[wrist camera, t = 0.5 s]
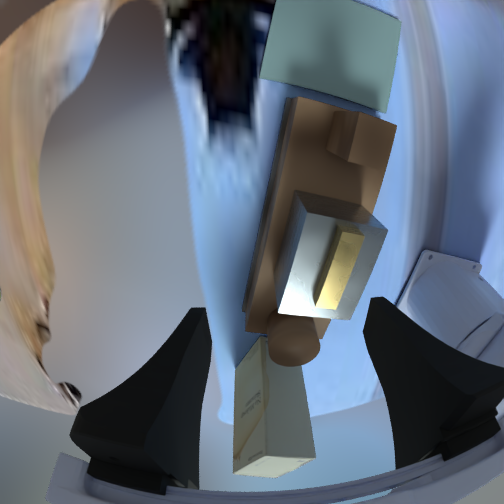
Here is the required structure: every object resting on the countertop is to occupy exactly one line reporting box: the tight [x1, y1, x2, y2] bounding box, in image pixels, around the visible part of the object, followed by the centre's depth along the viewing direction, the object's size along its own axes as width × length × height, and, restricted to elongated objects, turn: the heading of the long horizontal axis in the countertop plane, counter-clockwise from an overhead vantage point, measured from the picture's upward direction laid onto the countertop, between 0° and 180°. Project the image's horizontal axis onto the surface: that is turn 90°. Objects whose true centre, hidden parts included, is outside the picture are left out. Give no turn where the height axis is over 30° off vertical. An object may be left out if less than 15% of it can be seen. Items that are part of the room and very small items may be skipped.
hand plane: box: [242, 96, 397, 367], centre depth 18 cm, size 17×7×7 cm, turn 169°
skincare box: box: [233, 336, 316, 478], centre depth 22 cm, size 6×4×12 cm
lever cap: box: [273, 190, 388, 320], centre depth 16 cm, size 4×6×5 cm
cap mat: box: [259, 0, 401, 113], centre depth 14 cm, size 9×8×1 cm
